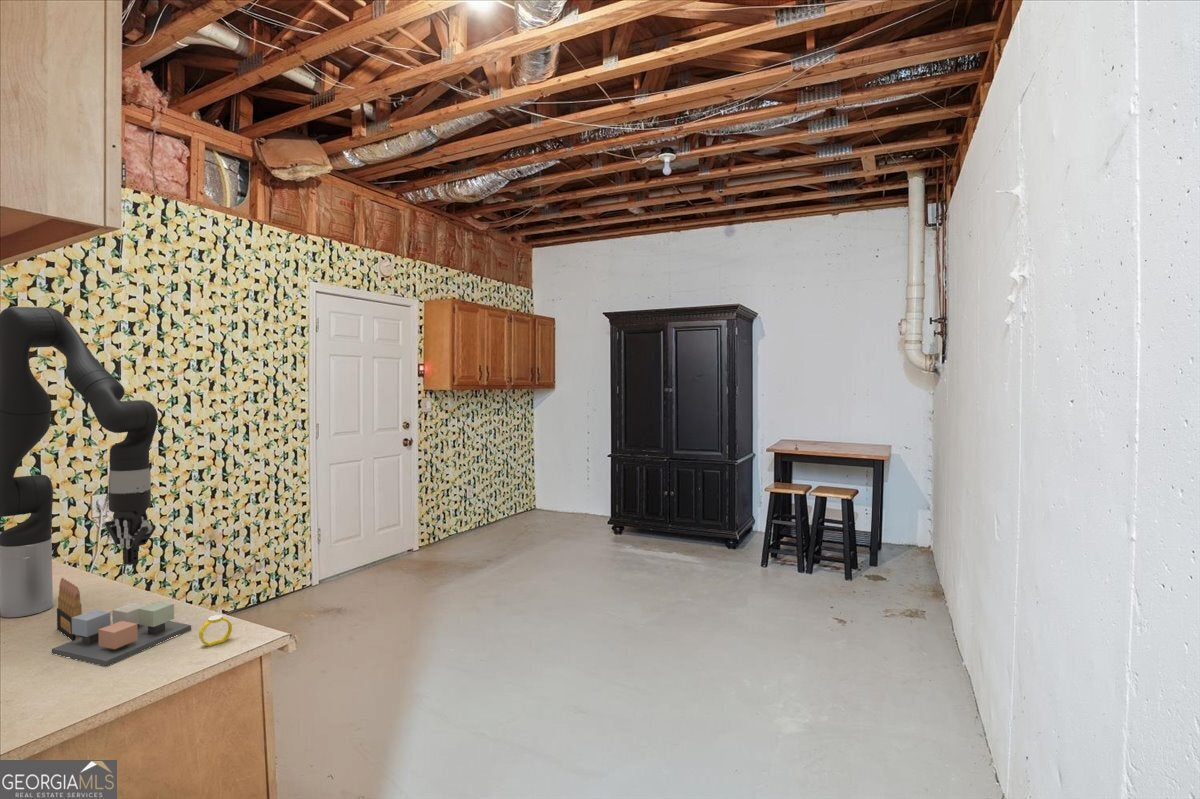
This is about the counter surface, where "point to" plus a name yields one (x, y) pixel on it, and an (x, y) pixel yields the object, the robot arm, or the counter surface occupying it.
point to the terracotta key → (118, 634)
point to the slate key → (90, 622)
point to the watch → (213, 620)
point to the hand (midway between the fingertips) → (130, 563)
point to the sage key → (155, 613)
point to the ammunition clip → (68, 608)
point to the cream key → (127, 613)
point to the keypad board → (121, 653)
